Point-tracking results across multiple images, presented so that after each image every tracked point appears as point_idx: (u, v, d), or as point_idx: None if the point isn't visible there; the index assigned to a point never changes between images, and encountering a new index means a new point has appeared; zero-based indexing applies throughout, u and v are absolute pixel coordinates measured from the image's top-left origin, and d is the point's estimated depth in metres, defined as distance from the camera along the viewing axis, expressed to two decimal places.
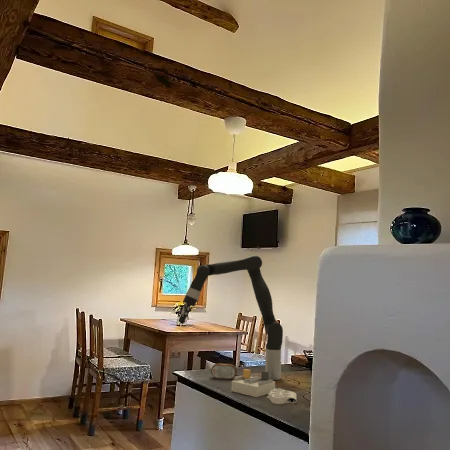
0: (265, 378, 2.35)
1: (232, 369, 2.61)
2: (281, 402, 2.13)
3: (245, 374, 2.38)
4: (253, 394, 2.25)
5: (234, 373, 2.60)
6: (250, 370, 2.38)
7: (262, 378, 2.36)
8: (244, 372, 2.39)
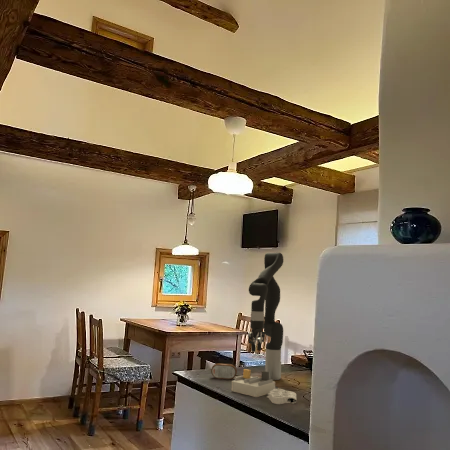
0: (265, 378, 2.35)
1: (232, 369, 2.61)
2: (281, 402, 2.13)
3: (245, 374, 2.38)
4: (253, 394, 2.25)
5: (234, 373, 2.60)
6: (250, 370, 2.38)
7: (262, 378, 2.36)
8: (244, 372, 2.39)
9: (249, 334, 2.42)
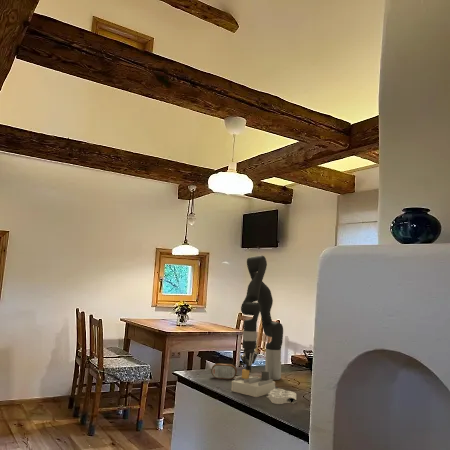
0: (265, 378, 2.35)
1: (232, 369, 2.61)
2: (281, 402, 2.13)
3: (243, 374, 2.38)
4: (253, 394, 2.25)
5: (234, 373, 2.60)
6: None
7: (262, 378, 2.36)
8: (243, 372, 2.38)
9: (242, 357, 2.36)
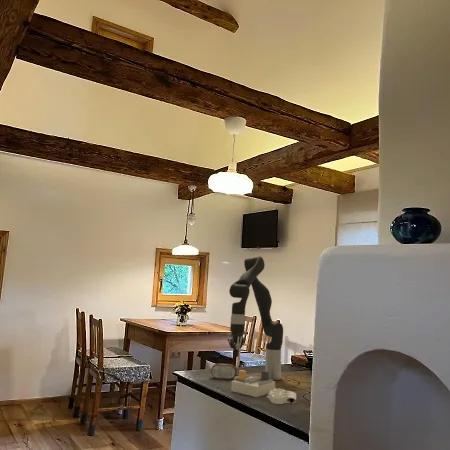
0: (265, 378, 2.35)
1: (232, 369, 2.61)
2: (280, 402, 2.13)
3: (240, 375, 2.35)
4: (253, 394, 2.25)
5: (234, 373, 2.60)
6: None
7: (262, 378, 2.36)
8: (239, 373, 2.36)
9: (229, 341, 2.29)
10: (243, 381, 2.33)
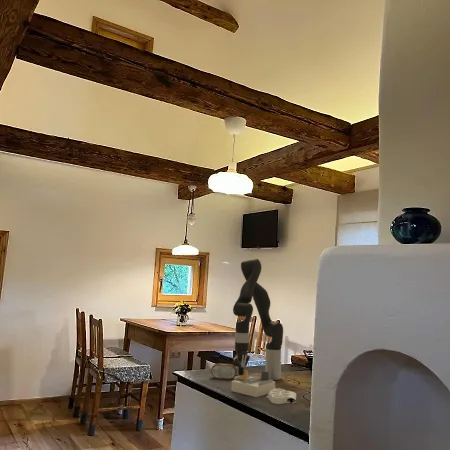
0: (265, 378, 2.35)
1: (232, 369, 2.61)
2: (280, 402, 2.13)
3: (241, 375, 2.36)
4: (253, 394, 2.25)
5: (234, 373, 2.60)
6: (247, 371, 2.36)
7: (262, 378, 2.36)
8: None
9: (234, 360, 2.31)
10: None
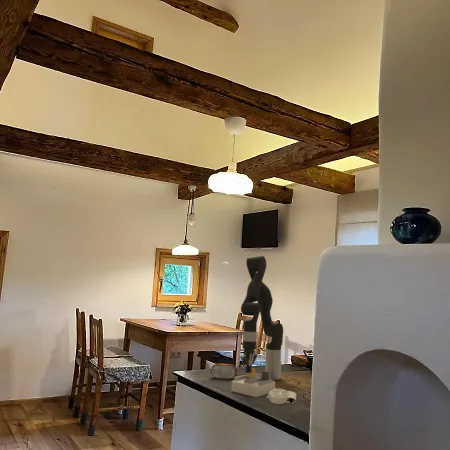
0: (265, 378, 2.35)
1: (232, 369, 2.61)
2: (280, 402, 2.13)
3: (249, 373, 2.41)
4: (253, 394, 2.25)
5: (234, 373, 2.60)
6: (254, 369, 2.41)
7: (262, 378, 2.36)
8: None
9: (242, 358, 2.36)
10: None
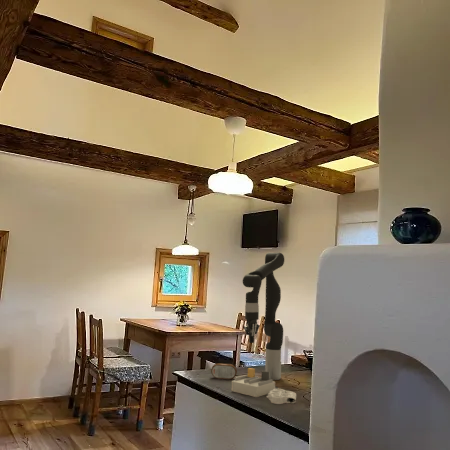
0: (265, 378, 2.35)
1: (232, 369, 2.61)
2: (280, 402, 2.13)
3: (249, 373, 2.42)
4: (253, 394, 2.25)
5: (234, 373, 2.60)
6: (254, 369, 2.41)
7: (262, 378, 2.36)
8: (248, 371, 2.42)
9: (245, 328, 2.43)
10: None
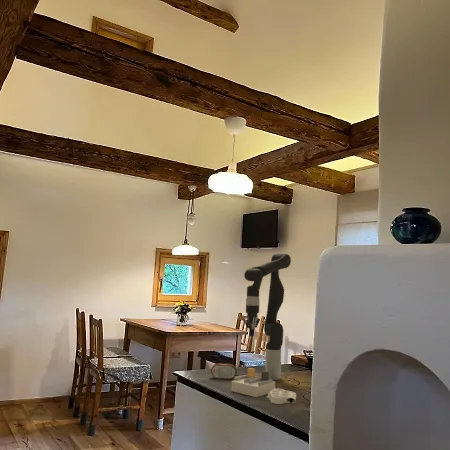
0: (265, 378, 2.35)
1: (232, 369, 2.61)
2: (280, 402, 2.14)
3: (249, 373, 2.42)
4: (253, 394, 2.25)
5: (234, 373, 2.60)
6: (254, 369, 2.41)
7: (262, 378, 2.36)
8: (248, 371, 2.42)
9: (245, 321, 2.46)
10: None
